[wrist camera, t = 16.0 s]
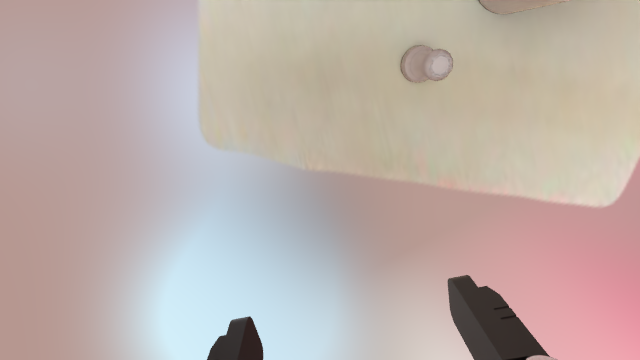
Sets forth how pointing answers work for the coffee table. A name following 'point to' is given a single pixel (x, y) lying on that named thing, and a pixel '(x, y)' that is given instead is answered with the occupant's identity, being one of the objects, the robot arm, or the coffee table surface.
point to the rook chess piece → (426, 64)
